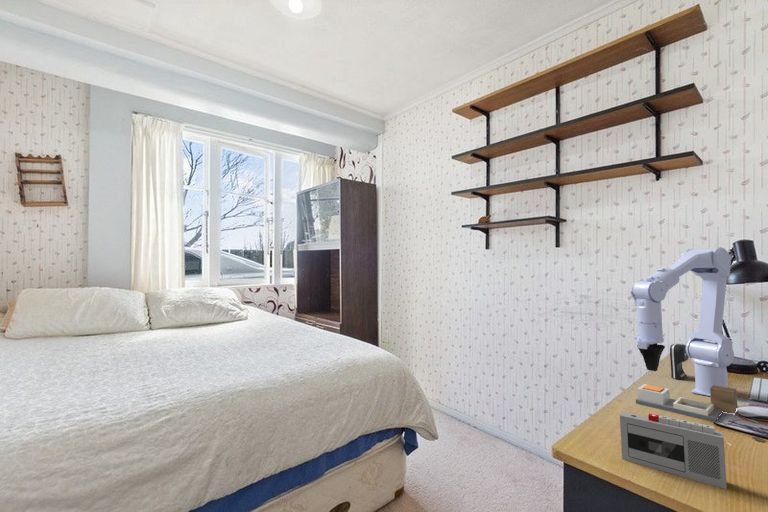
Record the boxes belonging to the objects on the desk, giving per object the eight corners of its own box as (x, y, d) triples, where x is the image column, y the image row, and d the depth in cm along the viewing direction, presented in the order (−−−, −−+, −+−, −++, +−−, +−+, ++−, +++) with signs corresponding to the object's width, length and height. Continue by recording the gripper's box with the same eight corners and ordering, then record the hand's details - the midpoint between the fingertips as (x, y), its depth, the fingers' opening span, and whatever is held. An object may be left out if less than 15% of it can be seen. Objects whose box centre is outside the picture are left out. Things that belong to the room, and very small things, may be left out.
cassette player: (622, 459, 74) (619, 410, 74) (624, 454, 76) (622, 406, 76) (726, 489, 63) (723, 432, 64) (726, 482, 65) (723, 427, 66)
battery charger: (685, 381, 120) (683, 347, 120) (671, 378, 123) (669, 345, 124) (690, 377, 124) (688, 343, 125) (676, 374, 127) (675, 342, 128)
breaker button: (647, 394, 105) (647, 384, 106) (664, 398, 102) (663, 387, 102) (643, 398, 103) (642, 387, 103) (660, 401, 100) (659, 391, 100)
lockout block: (715, 406, 99) (713, 384, 99) (737, 411, 96) (736, 388, 96) (711, 410, 96) (710, 388, 97) (734, 415, 93) (733, 392, 93)
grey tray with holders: (645, 396, 108) (644, 383, 108) (722, 413, 94) (721, 398, 94) (635, 403, 103) (635, 389, 103) (715, 422, 89) (714, 406, 89)
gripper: (641, 318, 111) (644, 362, 111) (624, 324, 102) (626, 372, 102) (670, 320, 105) (672, 367, 105) (654, 327, 97) (657, 377, 96)
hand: (652, 370), depth 103 cm, fingers closed
